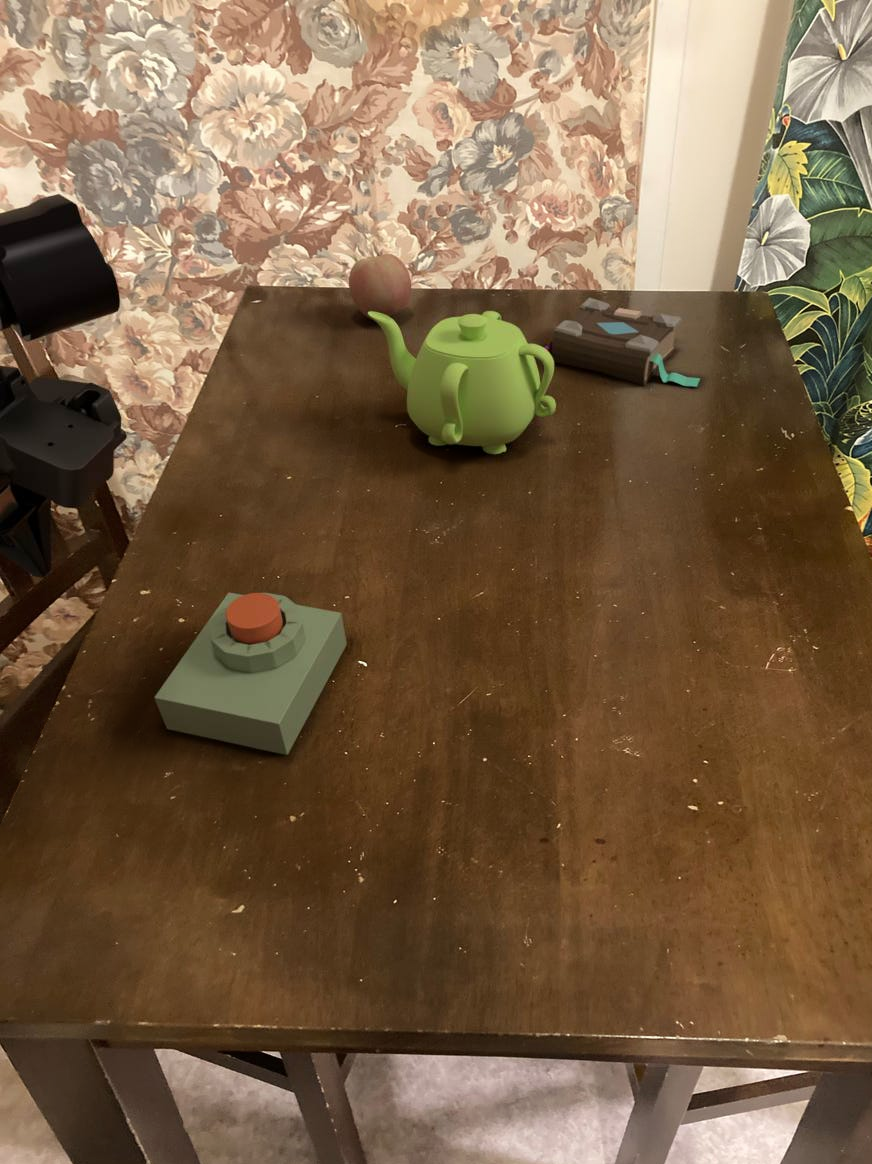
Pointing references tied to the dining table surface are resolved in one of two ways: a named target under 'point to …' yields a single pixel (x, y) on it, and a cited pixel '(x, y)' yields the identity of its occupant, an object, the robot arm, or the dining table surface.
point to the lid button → (254, 618)
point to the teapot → (471, 380)
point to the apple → (380, 285)
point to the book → (617, 343)
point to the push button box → (253, 678)
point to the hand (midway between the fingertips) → (42, 573)
